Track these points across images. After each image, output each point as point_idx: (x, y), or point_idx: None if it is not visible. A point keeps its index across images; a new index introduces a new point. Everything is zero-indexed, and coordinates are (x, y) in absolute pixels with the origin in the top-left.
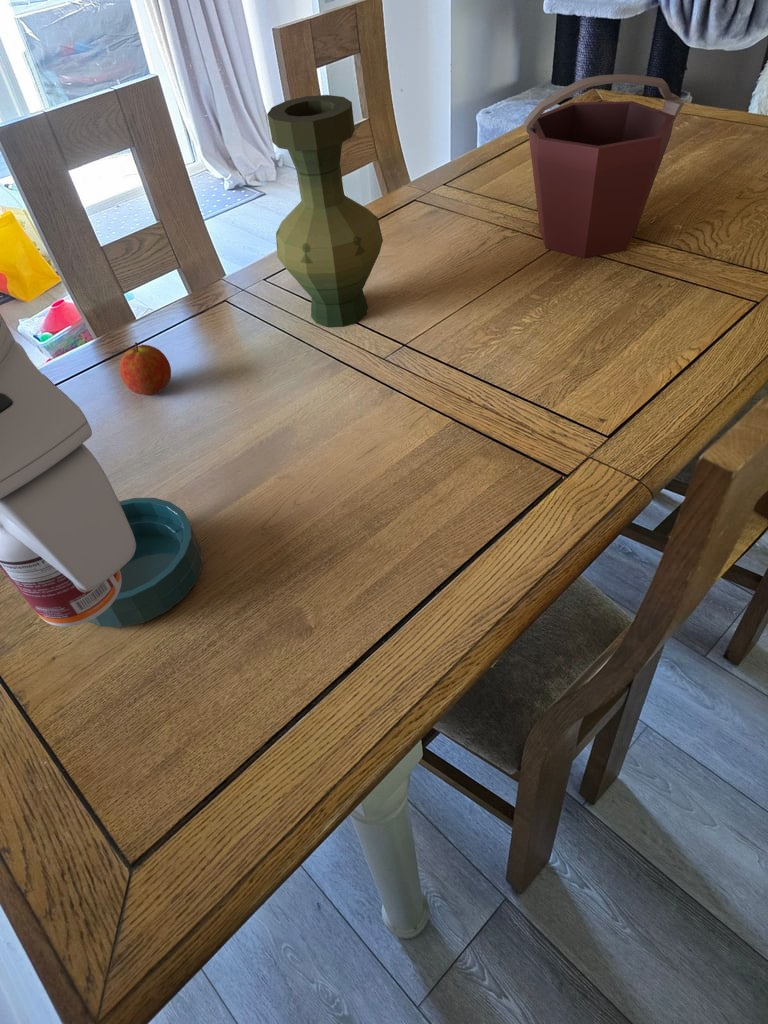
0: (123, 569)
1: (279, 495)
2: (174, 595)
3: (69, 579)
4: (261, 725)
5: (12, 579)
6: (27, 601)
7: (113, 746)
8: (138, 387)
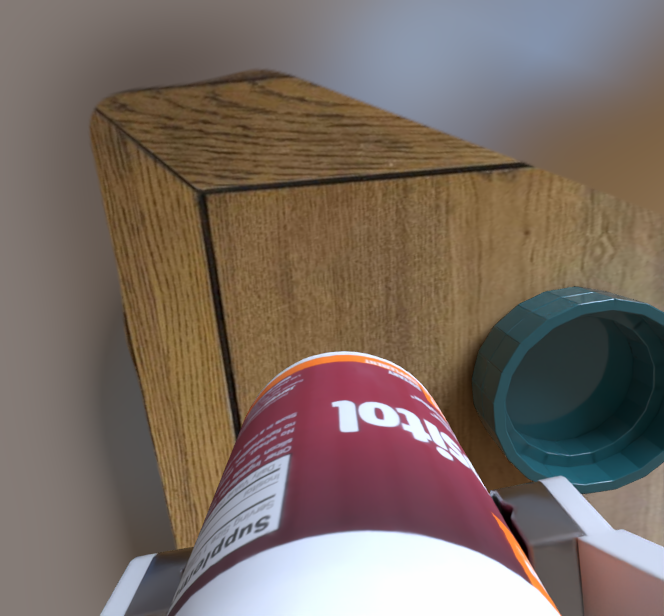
0: (582, 366)
1: None
2: (478, 401)
3: (153, 583)
4: (254, 381)
5: (292, 451)
6: (326, 379)
7: (350, 240)
8: None
